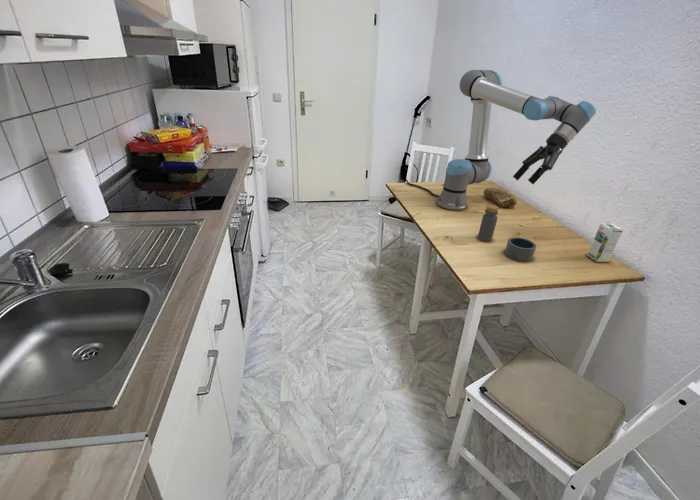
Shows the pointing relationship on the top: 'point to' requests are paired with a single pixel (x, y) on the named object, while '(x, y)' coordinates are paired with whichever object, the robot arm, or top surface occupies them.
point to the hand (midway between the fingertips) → (522, 180)
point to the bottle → (488, 223)
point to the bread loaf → (500, 197)
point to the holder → (520, 249)
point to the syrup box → (604, 242)
